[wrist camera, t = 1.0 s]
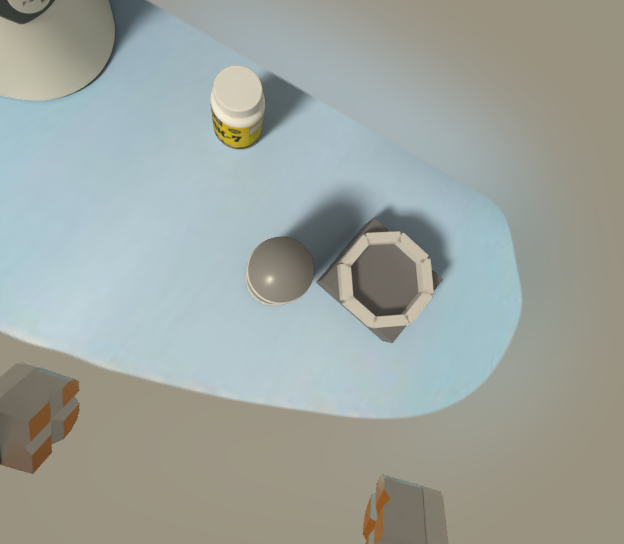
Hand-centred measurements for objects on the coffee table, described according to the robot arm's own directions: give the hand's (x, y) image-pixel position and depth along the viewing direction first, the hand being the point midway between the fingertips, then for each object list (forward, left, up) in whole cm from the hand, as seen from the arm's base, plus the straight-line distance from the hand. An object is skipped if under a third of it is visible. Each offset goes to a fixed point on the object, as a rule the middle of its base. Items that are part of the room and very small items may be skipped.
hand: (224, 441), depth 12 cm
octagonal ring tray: (+6, +14, -32) cm, 36 cm away
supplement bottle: (-14, +16, -32) cm, 39 cm away
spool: (-2, +7, -32) cm, 33 cm away
